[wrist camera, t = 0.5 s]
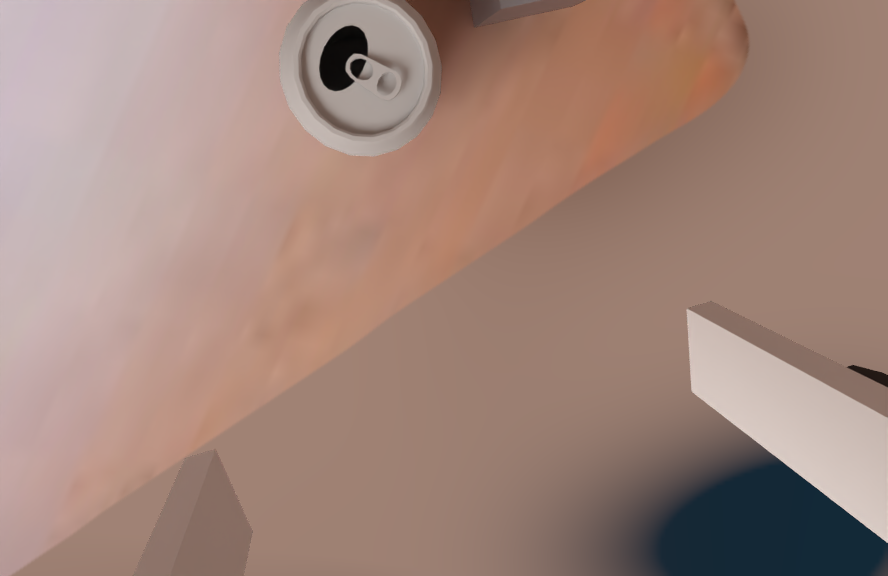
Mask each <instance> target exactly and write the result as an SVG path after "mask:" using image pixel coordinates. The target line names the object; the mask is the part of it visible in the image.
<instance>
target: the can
mask: <svg viewBox="0 0 888 576" xmlns="http://www.w3.org/2000/svg"><path fill="white" fill-rule="evenodd" d="M279 61H280V82H281V85H282V88H283V91H284V94H285V97H286V100H287V103H288V106H289V108H290V109H291V111H292V112H293V114H294V115H295V116H296V118H297V119H298V121H299V122H300V123H301V125H302V126H303V128H304V129H305V130H306V131H307V132H308V133H310V134H311V135H312V136H314V137H315V138H316V139H317V140H319V141H320V142H321V143H323V144H324V145H325V146H327V147H329V148H332V149H335V150H337V151H340V152H343V153H345V154H348V155H357V156H377V155H381V154H384V153H388V152H391V151H395V150H398V149H399V148H401V147H402V146H404V145H405V144H406V143H408V142H409V141H411V140H412V139H414V138H415V137H417V136H418V134H419V133H420V132H421V130H422V129H423V128H424V127H425V125H426V124H427V123H428V121H429V120H430V119H431V117H432V115H433V112H434V110H435V107H436V104H437V101H438V99H439V96H440V93H441V74H442V65H441V61H440V56H439V52H438V48H437V44H436V40H435V38H434V36H433V35H432V33H431V31H430V29H429V28H428V26H427V24H426V22H425V21H424V19H423V17H422V16H421V15H420V14H419V13H418V12H417V11H416V10H415V9H414V8H413V7H412V6H411V5H410V4H409V3H407V2H406V1H405V0H308V1H306V2H305V3H303V4H302V6H301V7H300V8H299V10H298V11H297V13H296V14H295V15H294V17H293V18H292V20H291V21H290V23H289V24H288V25H287V28H286V31H285V35H284V38H283V42H282V45H281V49H280V52H279Z"/></svg>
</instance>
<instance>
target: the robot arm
mask: <svg viewBox="0 0 888 576" xmlns="http://www.w3.org/2000/svg"><path fill="white" fill-rule="evenodd" d="M687 321H688V338H689V355H690V371H691V388H692V392H693V393H694V394H696V395H697V396H698V397H699V398H701V399H702V400H704V401H705V402H706V403H707V404H708V405H710V406H711V407H712V408H714V409H715V410H716V411H718V412H719V413H720V414H722V415H723V416H724V417H725V418H727V419H728V420H729V421H730V422H732V423H733V424H734V425H736V426H737V427H738V428H740V429H741V430H742V431H743V432H745V433H746V434H747V435H749V436H750V437H751V438H753V439H754V440H755V441H756V442H758V443H759V444H760V445H762V446H763V447H764V448H765V449H767V450H768V451H769V452H771V453H772V454H773V455H775V456H776V457H777V458H778V459H780V460H781V461H782V462H784V463H785V464H786V465H788V466H789V467H790V468H791V469H793V470H794V471H795V472H797V473H798V474H799V475H800V476H802V477H803V478H804V479H806V480H807V481H808V482H810V483H811V484H812V485H813V486H815V487H816V488H817V489H819V490H820V491H821V492H823V493H824V494H825V495H826V496H828V497H829V498H830V499H832V500H833V501H834V502H835V503H837V504H838V505H839V506H841V507H842V508H843V509H845V510H846V511H847V512H848V513H850V514H851V515H852V516H854V517H855V518H856V519H858V520H859V521H860V522H862V523H863V524H864V525H865V526H867V527H868V528H869V529H870V530H872V531H873V532H875V533H876V534H877V535H878V536H880V537H881V538H882V539H884V540H885V541H886V542H887V543H888V375H886V374H884V373H882V372H878V371H873V370H870V369H866V368H862V367H858V366H854V365H852V366H848V367H845V366H843V365H841V364H839V363H837V362H835V361H833V360H831V359H829V358H826V357H824V356H822V355H820V354H818V353H816V352H814V351H812V350H810V349H808V348H806V347H804V346H802V345H800V344H798V343H796V342H793V341H792V340H790V339H788V338H785V337H783V336H782V335H780V334H777V333H775V332H773V331H771V330H769V329H767V328H765V327H763V326H761V325H759V324H757V323H755V322H753V321H751V320H749V319H747V318H745V317H742V316H741V315H739V314H737V313H735V312H733V311H731V310H728V309H727V308H724V307H722V306H720V305H718V304H716V303H714V302H712V301H710V302H707V303H703V304H700V305H697V306H693V307H690V308H687ZM252 533H253V531H252V528H251V526H250V524H249V522H248V520H247V517H246V515H245V513H244V511H243V508H242V506H241V504H240V502H239V500H238V497H237V495H236V493H235V491H234V489H233V486H232V484H231V482H230V480H229V477H228V475H227V473H226V471H225V468H224V466H223V464H222V462H221V459H220V457H219V455H218V453H217V451H216V449H214V450H210V451H207V452H203V453H200V454H197V455H194V456H190V457H187V458H185V459H184V461H183V464H182V466H181V468H180V470H179V473H178V475H177V477H176V479H175V482H174V484H173V487H172V488H171V491H170V493H169V495H168V498H167V500H166V502H165V505H164V507H163V509H162V511H161V513H160V516H159V518H158V520H157V523H156V525H155V527H154V529H153V532H152V534H151V536H150V538H149V541H148V543H147V545H146V547H145V550H144V552H143V554H142V557H141V559H140V561H139V563H138V565H137V568H136V570H135V572H134V575H133V576H244V572H245V568H246V562H247V558H248V552H249V548H250V543H251V537H252Z"/></svg>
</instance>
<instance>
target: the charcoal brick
mask: <svg viewBox="0 0 888 576" xmlns="http://www.w3.org/2000/svg"><path fill="white" fill-rule="evenodd" d="M583 1H585V0H470V6H471V11H472V17H473V22H474V28H475V27H479V26H484V25H488V24H493V23H498V22H502V21H507V20H512V19H516V18H521V17H525V16H530V15H535V14H539V13H544V12H549V11H553V10H558V9H562V8H567V7H572V6H575V5H577V4H579V3H581V2H583Z"/></svg>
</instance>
